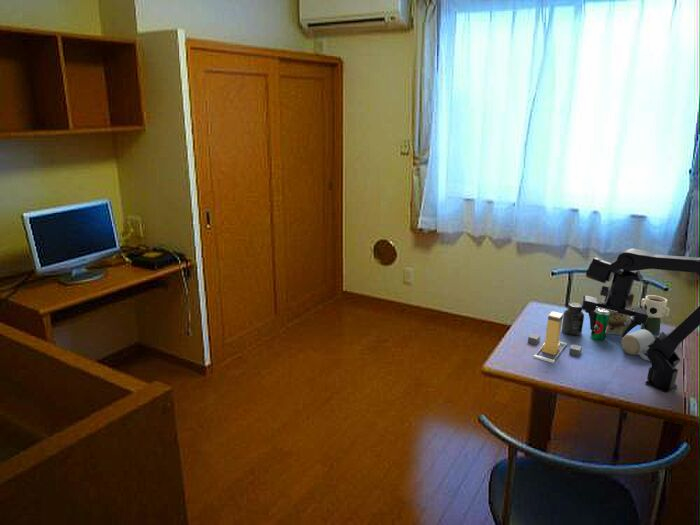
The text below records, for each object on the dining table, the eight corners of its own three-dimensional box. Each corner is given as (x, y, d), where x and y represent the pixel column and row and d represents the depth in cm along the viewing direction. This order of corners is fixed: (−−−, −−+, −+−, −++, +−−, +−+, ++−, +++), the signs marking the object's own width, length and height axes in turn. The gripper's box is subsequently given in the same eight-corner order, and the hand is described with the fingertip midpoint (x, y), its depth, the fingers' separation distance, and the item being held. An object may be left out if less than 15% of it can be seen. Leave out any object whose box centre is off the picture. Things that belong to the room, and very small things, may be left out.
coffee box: (599, 333, 196) (607, 292, 191) (596, 326, 202) (603, 286, 197) (626, 336, 194) (634, 294, 189) (622, 328, 200) (629, 288, 195)
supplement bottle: (582, 334, 195) (587, 303, 192) (579, 341, 190) (584, 309, 186) (563, 329, 199) (567, 299, 195) (558, 336, 193) (563, 305, 190)
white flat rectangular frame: (585, 353, 181) (587, 344, 180) (573, 372, 169) (575, 363, 168) (526, 337, 192) (527, 329, 191) (511, 354, 180) (512, 345, 179)
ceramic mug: (617, 350, 184) (621, 329, 181) (633, 345, 187) (638, 325, 185) (645, 364, 175) (650, 343, 172) (662, 359, 178) (667, 338, 176)
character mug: (630, 327, 202) (636, 294, 198) (643, 323, 205) (649, 292, 201) (656, 338, 192) (663, 305, 188) (669, 335, 195) (677, 302, 191)
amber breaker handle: (559, 350, 180) (564, 313, 176) (555, 355, 177) (560, 318, 173) (545, 346, 183) (550, 310, 179) (542, 351, 179) (547, 314, 175)
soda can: (607, 344, 187) (612, 313, 184) (591, 343, 188) (596, 311, 185) (603, 338, 192) (609, 307, 188) (588, 337, 193) (593, 306, 189)
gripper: (650, 286, 168) (635, 329, 174) (587, 272, 174) (575, 315, 180) (655, 300, 158) (639, 345, 164) (588, 285, 164) (575, 329, 170)
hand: (606, 333), depth 170 cm, fingers open, 9 cm apart
